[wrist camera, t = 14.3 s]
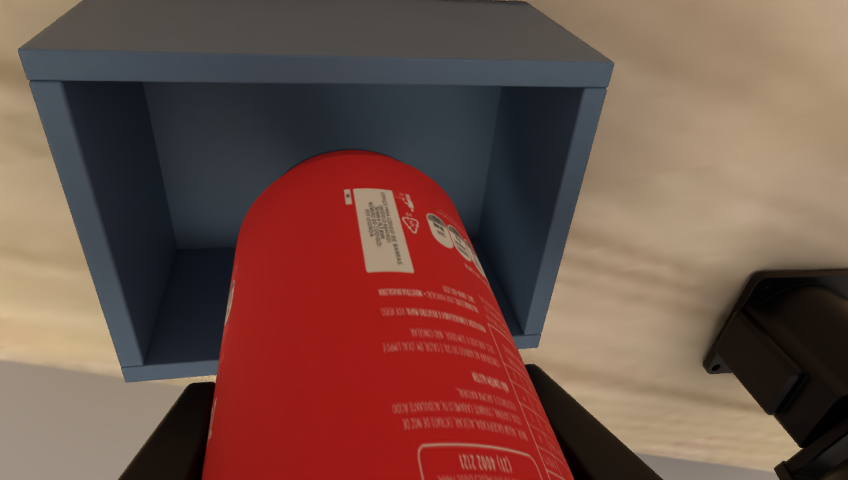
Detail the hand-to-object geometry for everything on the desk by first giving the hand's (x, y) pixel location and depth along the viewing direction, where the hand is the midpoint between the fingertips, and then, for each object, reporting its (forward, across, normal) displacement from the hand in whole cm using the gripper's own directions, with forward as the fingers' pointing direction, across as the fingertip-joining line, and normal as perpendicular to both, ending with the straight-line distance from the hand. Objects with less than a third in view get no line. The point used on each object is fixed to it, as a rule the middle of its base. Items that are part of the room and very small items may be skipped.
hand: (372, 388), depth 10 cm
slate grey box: (+8, 0, -4) cm, 9 cm away
